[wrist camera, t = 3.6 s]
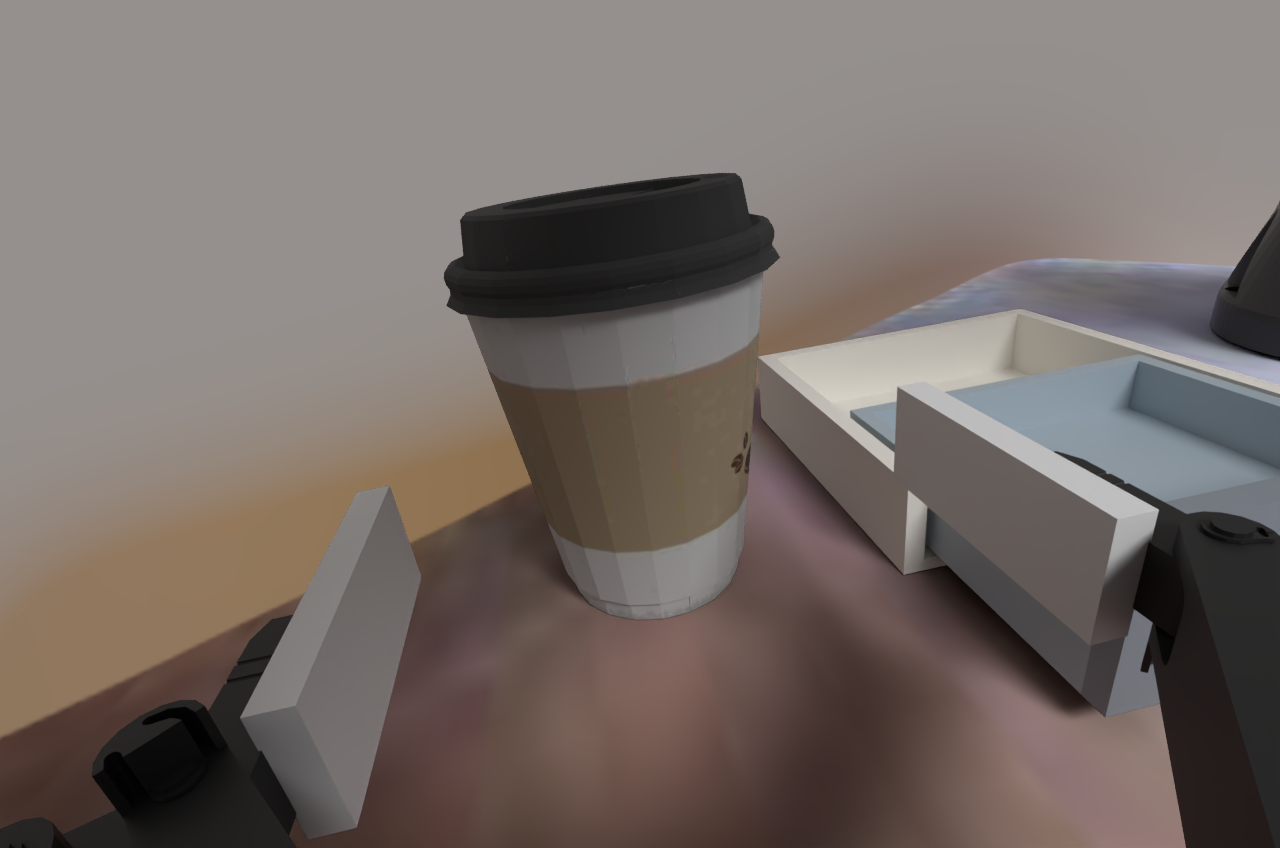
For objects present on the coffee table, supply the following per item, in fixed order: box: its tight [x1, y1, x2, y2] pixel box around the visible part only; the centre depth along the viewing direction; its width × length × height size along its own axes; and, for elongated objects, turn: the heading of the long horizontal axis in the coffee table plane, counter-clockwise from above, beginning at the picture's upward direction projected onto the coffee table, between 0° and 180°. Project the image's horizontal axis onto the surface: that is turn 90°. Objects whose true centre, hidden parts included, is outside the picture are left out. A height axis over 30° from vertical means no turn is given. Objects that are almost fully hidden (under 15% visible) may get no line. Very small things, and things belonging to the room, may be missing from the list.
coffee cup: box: [444, 173, 780, 620], centre depth 23 cm, size 11×11×15 cm
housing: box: [758, 309, 1280, 575], centre depth 31 cm, size 17×16×4 cm
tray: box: [850, 354, 1280, 718], centre depth 22 cm, size 15×14×6 cm
